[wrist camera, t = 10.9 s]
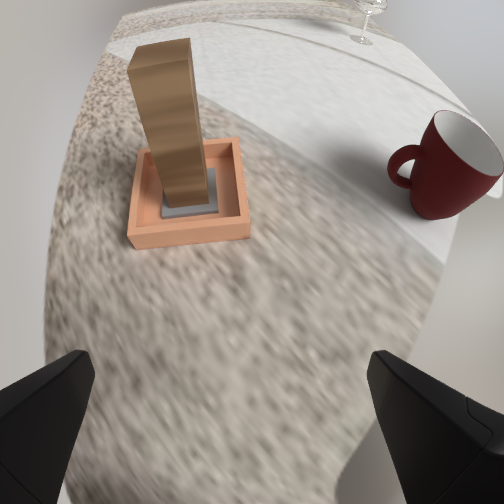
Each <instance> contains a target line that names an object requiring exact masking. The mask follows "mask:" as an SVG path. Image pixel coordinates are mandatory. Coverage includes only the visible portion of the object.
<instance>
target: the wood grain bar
mask: <svg viewBox="0 0 504 504" xmlns="http://www.w3.org/2000/svg"><path fill="white" fill-rule="evenodd" d="M127 73H128V77H129V80H130V84H131V88H132V91H133V95H134V98H135V102H136V105H137V108H138V112H139V115H140V119H141V122H142V125H143V128H144V132H145V135H146V138H147V141H148V144H149V147H150V151H151V154H152V157H153V160H154V163H155V166H156V169H157V172H158V175H159V178H160V181H161V184H162V187H163V199H162V218H163V220H164V219H172V218H180V217H189V216H197V215H206V214H215V213H219V210H218V198H217V186H216V173H215V168H206V161H205V154H204V147H203V140H202V132H201V125H200V117H199V110H198V102H197V94H196V86H195V78H194V69H193V61H192V52H191V43H190V38H184V39H177V40H171V41H165V42H159V43H154V44H148V45H143V46H139V47H137V48H136V50H135V52H134V55H133V57H132V59H131V61H130V64H129V66H128V69H127Z"/></svg>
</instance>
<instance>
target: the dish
mask: <svg viewBox="0 0 504 504" xmlns="http://www.w3.org/2000/svg"><path fill="white" fill-rule="evenodd" d="M203 147H204V154H205V161H206V168H215V173H216V186H217V198H218V210H219V213H215V214H206V215H197V216H189V217H180V218H172V219H164V220H163V218H162V199H163V187H162V184H161V181H160V178H159V175H158V172H157V169H156V166H155V163H154V160H153V157H152V154H151V151H150V147H149V148H143V149H139V151H138V156H137V162H136V168H135V175H134V181H133V188H132V196H131V204H130V212H129V221H128V231H127V237H128V238H129V240H130V241H131V243H132V244H133V246H134V247H135V249H136V250H140V249H149V248H159V247H168V246H178V245H187V244H197V243H207V242H217V241H227V240H237V239H248V238H250V215H249V208H248V201H247V194H246V187H245V179H244V172H243V165H242V158H241V151H240V144H239V137H232V138H221V139H211V140H203Z"/></svg>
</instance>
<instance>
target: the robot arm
mask: <svg viewBox="0 0 504 504" xmlns="http://www.w3.org/2000/svg"><path fill="white" fill-rule="evenodd" d="M94 378H95V371H94V367H93V365H92V362H91V359H90V356H89V353H88V352H87V351H85V350H74V351H72V352H70V353H68V354H67V355H65V356H63V357H61V358H59V359H57V360H56V361H54V362H52V363H50V364H48V365H46V366H44V367H43V368H41V369H39V370H37V371H35V372H33V373H32V374H30V375H28V376H26V377H24V378H22V379H20V380H19V381H17V382H15V383H13V384H11V385H9V386H8V387H6V388H4V389H2V390H0V504H57V500H58V497H59V493H60V490H61V486H62V483H63V479H64V476H65V472H66V469H67V466H68V463H69V459H70V456H71V453H72V450H73V447H74V444H75V441H76V438H77V435H78V432H79V430H80V427H81V424H82V421H83V418H84V415H85V412H86V408H87V404H88V400H89V396H90V393H91V389H92V385H93V381H94ZM367 380H368V384H369V387H370V391H371V395H372V399H373V404H374V408H375V412H376V415H377V418H378V421H379V424H380V427H381V430H382V432H383V435H384V438H385V441H386V443H387V446H388V449H389V452H390V455H391V458H392V460H393V463H394V466H395V469H396V472H397V475H398V478H399V481H400V484H401V487H402V490H403V493H404V497H405V500H406V503H407V504H504V415H503V414H501V413H498V412H496V411H494V410H492V409H490V408H488V407H485V406H484V405H482V404H480V403H478V402H476V401H474V400H473V399H471V398H469V397H465V395H463V394H462V393H460V392H458V391H456V390H455V389H453V388H451V387H449V386H447V385H446V384H444V383H442V382H440V381H438V380H437V379H435V378H433V377H431V376H430V375H428V374H426V373H424V372H423V371H421V370H419V369H417V368H416V367H414V366H412V365H410V364H409V363H407V362H405V361H403V360H402V359H400V358H398V357H396V356H395V355H393V354H391V353H390V352H388V351H386V350H380V351H374V352H373V353H372V355H371V358H370V362H369V366H368V369H367Z"/></svg>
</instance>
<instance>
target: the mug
mask: <svg viewBox="0 0 504 504" xmlns="http://www.w3.org/2000/svg"><path fill="white" fill-rule="evenodd" d="M412 159H415V162H414V165H413V168H412V171H411V175H410V179H408V178H405V177H402V176H400V175H399V174H397V171H398V169H399V168H400V167H401V165H403V164H404V163H405V162H407V161H409V160H412ZM387 170H388V175H389V177H390V179H391V180H392V182H393V183H394V184H396V185H398V186H400V187H402V188H406V189H410V200H411V204H412V206H413V208H414V209H415V211H416V212H417V213H418V214H419V215H420V216H422V217H423V218H425V219H428V220H438V219H444V218H449V217H452V216H454V215H456V214H458V213H459V212H461V211H462V210H464V209H465V208H466V207H468V206H469V205H471V204H472V203H474V202H475V201H476V200H478V199H479V198H481V197H482V196H483V195H485V194H486V193H487V192H488V191H489V190H490V189H491V188H492V187H493V185H494V184H495V183H496V182H497V180H498V179H499V178H500V177H501V175H502V174H503V172H504V162H503V159H502V156H501V154H500V152H499V150H498V148H497V147H496V145H495V144H494V142H493V141H492V140H491V138H490V137H489V136H488V135H487V134H486V133H485V132H484V131H483V130H482V129H481V128H480V127H479V126H477V125H476V124H475V123H473V122H472V121H471V120H469V119H467V118H466V117H464V116H462V115H460V114H458V113H455V112H452V111H447V110H441V111H438V112H436V113H435V114H434V116H433V118H432V119H431V121H430V123H429V125H428V126H427V128H426V130H425V132H424V135H423V137H422V140H421V143H420V145H407V146H404V147H402V148H400V149H399V150H397V151H396V152H395V153H394V154H393V155H392V156H391V157H390V159H389V162H388V167H387Z"/></svg>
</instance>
